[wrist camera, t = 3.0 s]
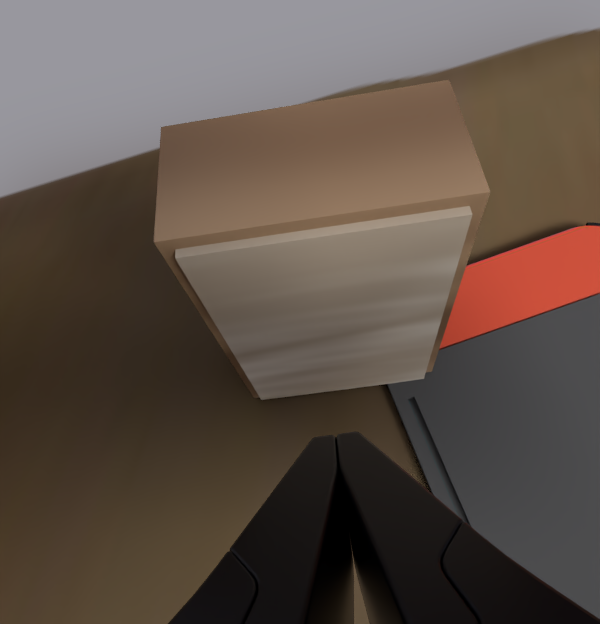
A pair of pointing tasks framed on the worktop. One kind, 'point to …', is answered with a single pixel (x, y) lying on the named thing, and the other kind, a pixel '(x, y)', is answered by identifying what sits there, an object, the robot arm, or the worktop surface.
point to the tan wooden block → (324, 234)
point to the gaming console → (521, 409)
